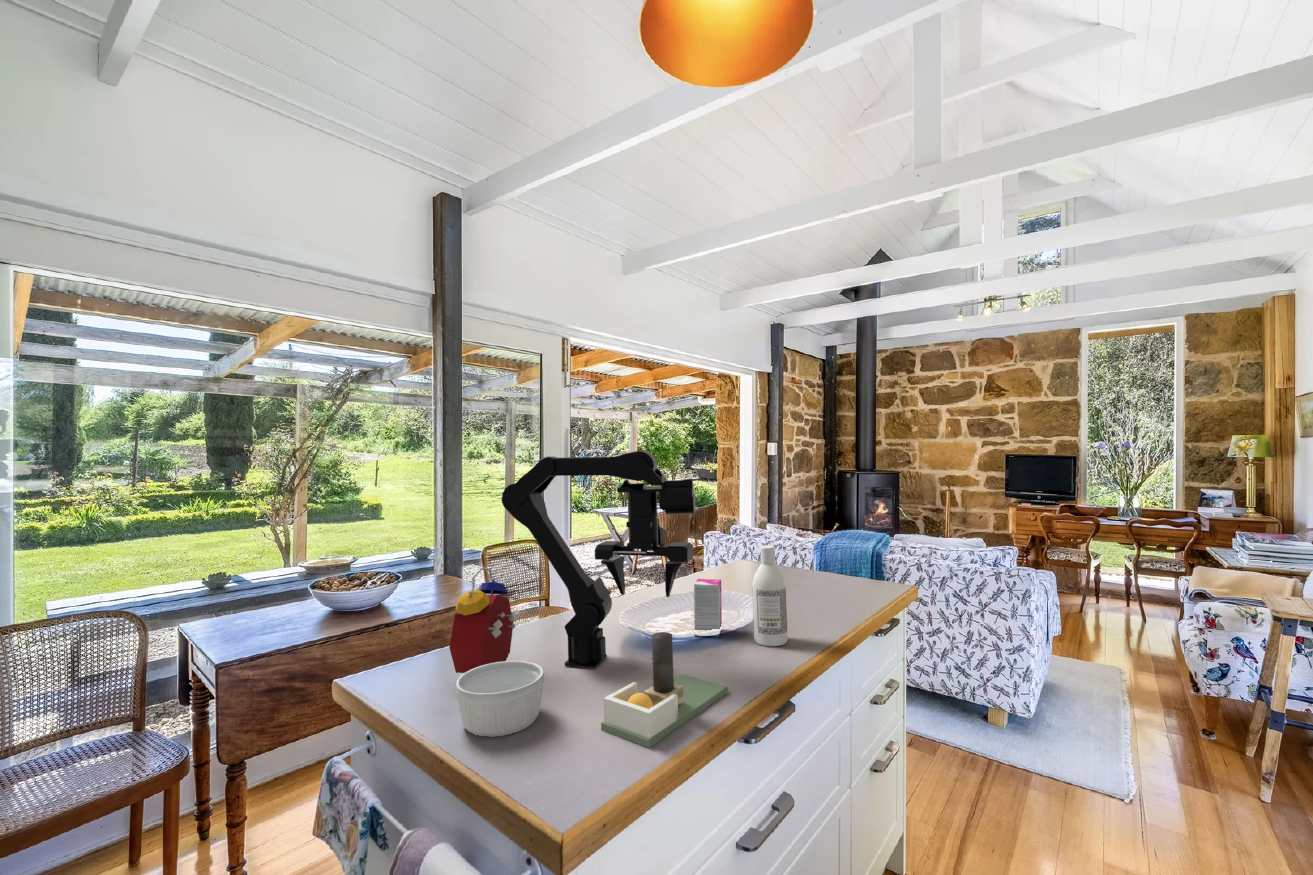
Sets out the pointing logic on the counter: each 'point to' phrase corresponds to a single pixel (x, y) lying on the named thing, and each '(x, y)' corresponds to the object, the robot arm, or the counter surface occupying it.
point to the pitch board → (695, 701)
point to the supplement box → (707, 604)
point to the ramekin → (500, 697)
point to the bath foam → (769, 601)
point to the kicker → (663, 670)
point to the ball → (641, 700)
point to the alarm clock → (482, 626)
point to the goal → (639, 712)
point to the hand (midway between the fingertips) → (645, 595)
